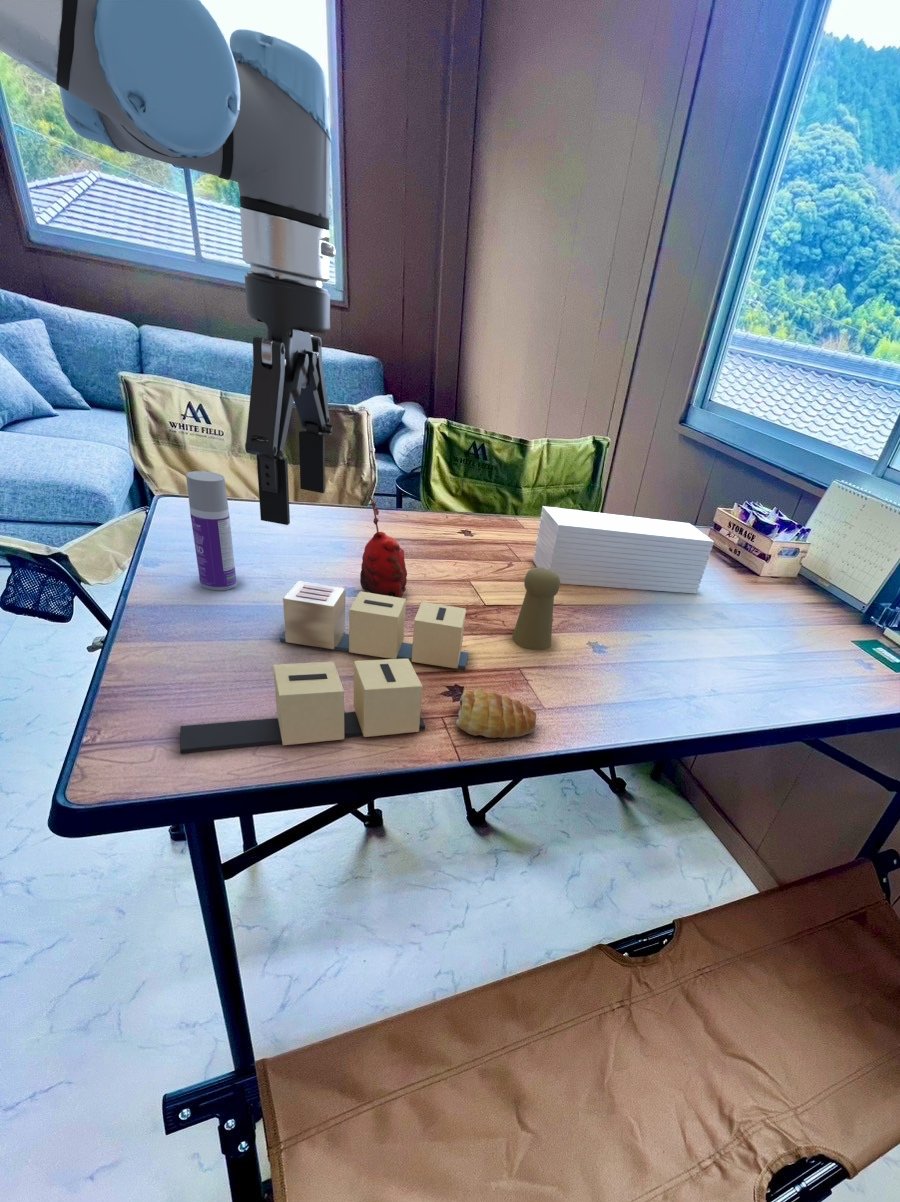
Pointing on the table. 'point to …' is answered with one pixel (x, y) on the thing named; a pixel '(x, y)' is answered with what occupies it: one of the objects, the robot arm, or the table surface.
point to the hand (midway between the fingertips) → (295, 505)
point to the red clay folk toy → (383, 564)
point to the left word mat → (323, 708)
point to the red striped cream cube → (314, 614)
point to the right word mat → (383, 631)
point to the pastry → (494, 715)
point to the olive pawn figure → (537, 609)
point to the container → (211, 530)
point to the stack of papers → (621, 550)
